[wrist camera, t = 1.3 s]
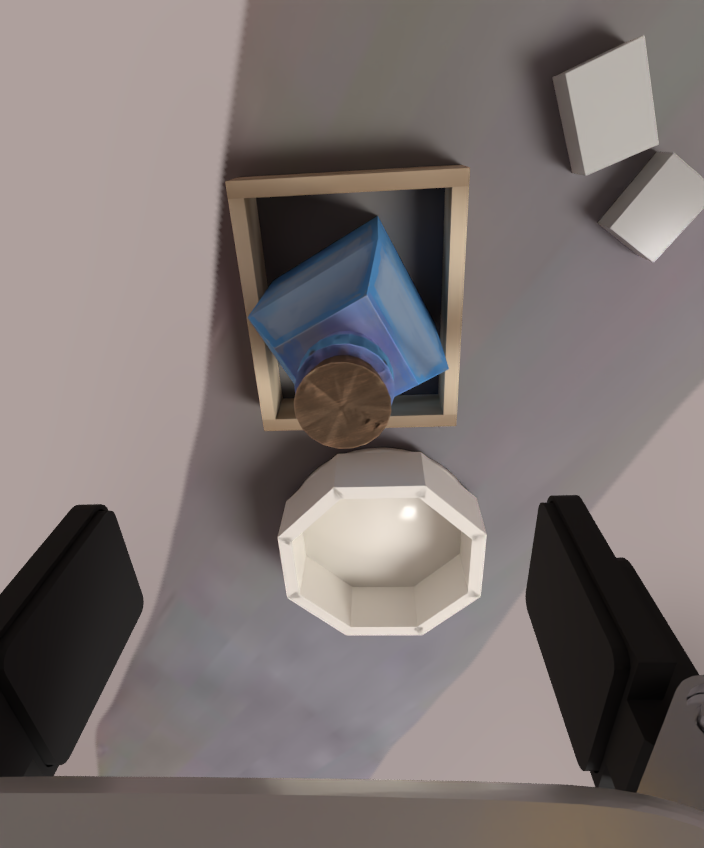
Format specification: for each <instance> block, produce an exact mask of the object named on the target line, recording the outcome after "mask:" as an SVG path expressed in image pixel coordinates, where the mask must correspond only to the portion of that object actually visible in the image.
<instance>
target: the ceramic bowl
mask: <svg viewBox="0 0 704 848" xmlns="http://www.w3.org/2000/svg"><path fill="white" fill-rule="evenodd" d="M486 537H487V534H486V530H485V527H484V523H483V519H482V516H481V512H480V509H479V505H478V501H477V498H476V497H475V496H473V495H472V494H471V493H470V492H469V491H467V490H466V489H465V488H464V487H463V486H462V485H461V483H460V482H459V481H458V479H457V478H456V477H455V476H454V475H453V474H452V473H451V472H450V471H449V470H447V469H446V468H445V467H443V466H442V465H441V464H439V463H437V462H436V461H434V460H432V459H430V458H428V457H426V456H425V455H424V454H423V453H421V452H411V451H407V450H403V449H396V448H380V447H378V448H366V449H361V450H356V451H352V452H348V453H345V454H337V455H336V456H335V457H333V458H332V459H331V460H329V461H328V462H326V463H324V464H323V465H321V466H320V467H319V468H317V469H316V470H315V471H314V472H312V473H311V475H310V476H309V477H308V478H307V479H306V480H305V481H304V483H303V484H302V486H301V487H300V489H299V490H298V491H297V492H296V493H295V494H294V495H293V496H292V497H290V498H289V499H288V500H287V501H286V504H285V509H284V513H283V517H282V521H281V525H280V529H279V533H278V543H279V549H280V556H281V562H282V568H283V574H284V580H285V587H286V593H287V598H288V599H290V600H291V601H293V602H294V603H296V604H298V605H299V606H301V607H302V608H304V609H306V610H307V611H309V612H310V613H312V614H313V615H315V616H317V617H318V618H320V619H321V620H323V621H324V622H326V623H328V624H329V625H331V626H332V627H334V628H336V629H337V630H339V631H340V632H342V633H343V634H345V635H423V634H425V633H426V632H428V631H429V630H431V629H432V628H434V627H435V626H437V625H438V624H440V623H441V622H443V621H444V620H446V619H448V618H449V617H451V616H452V615H454V614H455V613H457V612H458V611H460V610H461V609H463V608H464V607H466V606H467V605H469V604H470V603H472V602H473V601H475V600H476V599H478V598H479V597H481V587H482V577H483V567H484V557H485V547H486Z"/></svg>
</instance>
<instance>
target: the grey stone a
mask: <svg viewBox="0 0 704 848" xmlns="http://www.w3.org/2000/svg"><path fill="white" fill-rule="evenodd" d="M552 79H553V83H554V88H555V93H556V98H557V102H558V107H559V112H560V117H561V122H562V126H563V131H564V136H565V141H566V145H567V150H568V155H569V160H570V165H571V169H572V173H575V174H579V175H584V176H586V175H589V174H591V173H593V172H596V171H598V170H600V169H603V168H605V167H607V166H610V165H612V164H614V163H617V162H619V161H621V160H624V159H626V158H628V157H630V156H633V155H635V154H637V153H640V152H642V151H644V150H647V149H649V148H651V147H654V146H656V145H658V144H659V142H658V134H657V126H656V119H655V111H654V104H653V96H652V88H651V81H650V73H649V66H648V58H647V50H646V43H645V35H644V36H642V37H639V38H636V39H633V40H630V41H627V42H625V43H623V44H621V45H618V46H616V47H614V48H612V49H610V50H608V51H606V52H604V53H602V54H600V55H598V56H596V57H594V58H592V59H589V60H587V61H585V62H583V63H581V64H579V65H577V66H575V67H573V68H571V69H569V70H567V71H565V72H563V73H560V74H558V75H556V76H554V77H552Z"/></svg>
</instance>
